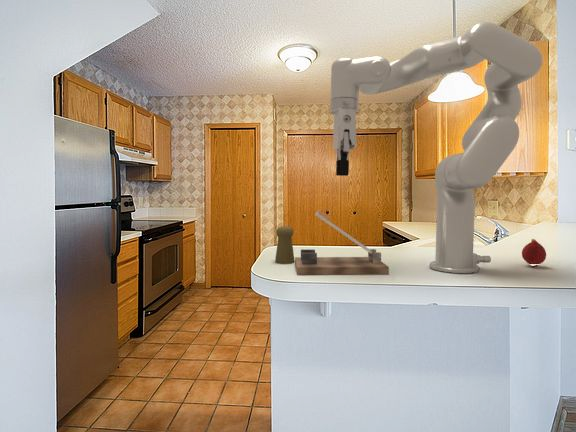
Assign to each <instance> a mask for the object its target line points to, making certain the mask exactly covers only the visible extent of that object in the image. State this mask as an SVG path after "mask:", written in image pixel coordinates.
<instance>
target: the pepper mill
mask: <svg viewBox="0 0 576 432" xmlns="http://www.w3.org/2000/svg"><path fill="white" fill-rule="evenodd" d="M275 233H276V236H277V244H276V245H277V246H276V251H275V261H274V263H275V264H279V265H292V264H295V263H294V262H295V255H294V246H293V238H292V237H293V236H294V229H293V228H292V227H291V226H286V225H283V226H279V227H277V229H276V232H275Z"/></svg>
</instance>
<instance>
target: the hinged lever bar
mask: <svg viewBox="0 0 576 432" xmlns="http://www.w3.org/2000/svg"><path fill="white" fill-rule="evenodd" d="M314 216H316V217H317V218H319V219H320V220H322V221H324V222H325V223H326V224H328V225H329V226H331V227H332V228H333V229H334V230H336V231H337V232H339V233H340V234H342V235H343V236H345V237H346V238H348V239H349V240H350V241H352V242H353V243H355V244H356V245H358V246H359V247H361V248H362V249H363V250H365V251H366V252H367V253H368V252H369V253H370V254H372V255H373V251H371V250H370V249H371V248H369V247H367V246H366V245H364V244H362V243H361V242H360V241H358V240H357V239H355V238H354V237H353V236H352V235H350V234H348V233H347V232H345V231H344V230H343V229H341V228H340V227H338V226H337V225H336V224H334V222H331V221H330V220H328V218H329V217H330V216H329V215H328V214H326V213H325V212H323V211H322V210H321V209H317V211H316V213H315V215H314Z"/></svg>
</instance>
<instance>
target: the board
mask: <svg viewBox="0 0 576 432" xmlns="http://www.w3.org/2000/svg"><path fill="white" fill-rule="evenodd" d="M369 249H370V250H371V251H373V255H372V254H370V253H369V252H368V251H367V256H325V257H324V256H323V257H322V256H318V253H317V252H316V249H314V248H313V249H310V248H309V249H308V248H307V249H300V256H297V257H296V256H294V261H295V263H294V265H295V271H296V275H297V276H320V275H321V276H332V275H333V276H339V275H340V276H341V275H342V276H343V275H344V276H347V275H348V276H349V275H351V276H353V275H360V276H361V275H362V276H363V275H365V276H366V275H367V276H368V275H389V273H390V272H389V271H390V267H389V265H387V264H385V262H383V261H382V252H381V251H377V249H376V248H369Z"/></svg>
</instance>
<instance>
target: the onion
mask: <svg viewBox="0 0 576 432" xmlns="http://www.w3.org/2000/svg"><path fill="white" fill-rule="evenodd" d="M521 257H522V259H523V260H524V261H525V262H526V263H527V264H528V263H529V264H539V265H541V264H542V263H544V262H545V260H546V258H547V253H546V249H545V247H544V246H543V245H542V244H541V243H539V242H538V241H537V240H536V239H535V238H532V239H531V242H529V243H526V244H525V245H524V247H523V248H522V251H521ZM529 264H528V265H529Z"/></svg>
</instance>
